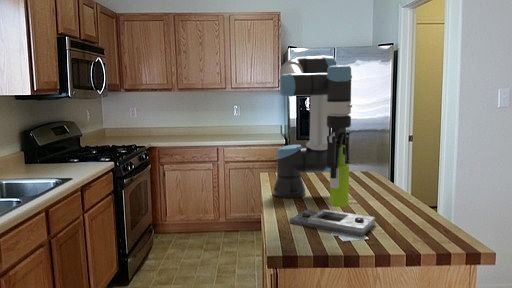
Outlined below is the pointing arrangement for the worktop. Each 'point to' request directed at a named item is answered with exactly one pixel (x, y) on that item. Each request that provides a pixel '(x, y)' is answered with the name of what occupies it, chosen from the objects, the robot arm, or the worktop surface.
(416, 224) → the worktop surface
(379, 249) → the worktop surface
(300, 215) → the lower link
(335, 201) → the soap dispenser
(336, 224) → the upper link
